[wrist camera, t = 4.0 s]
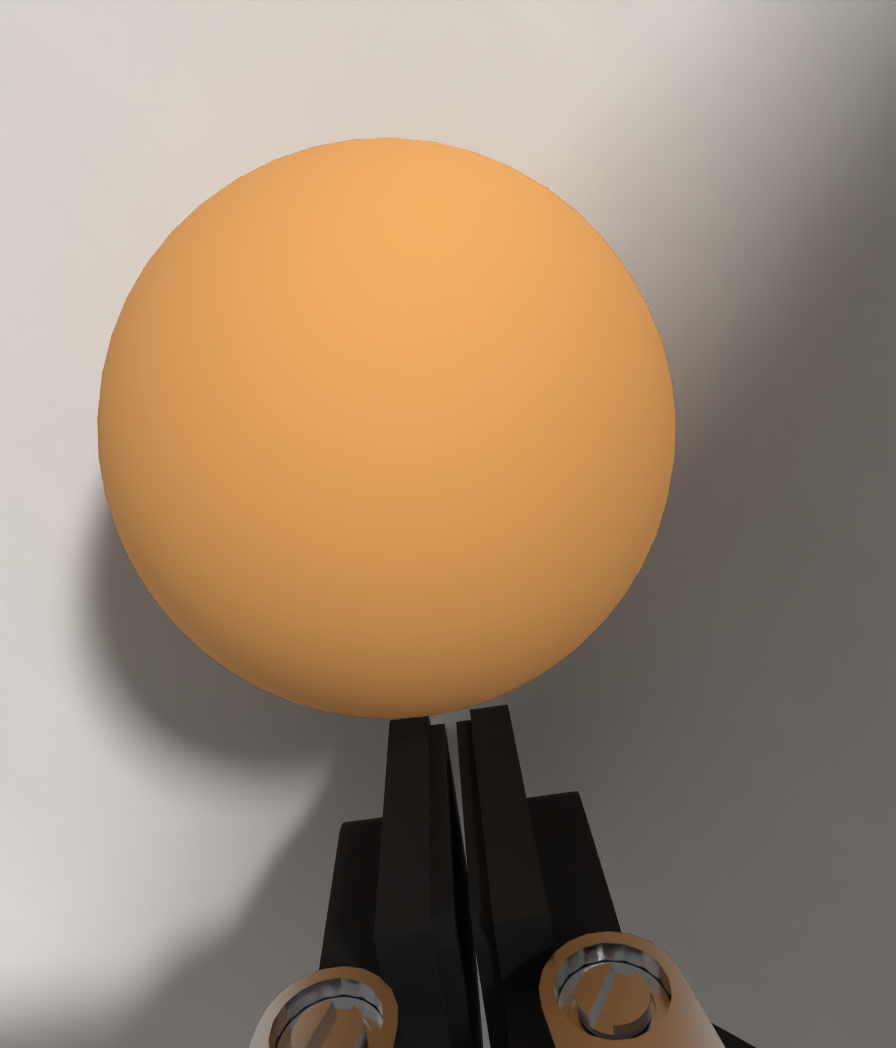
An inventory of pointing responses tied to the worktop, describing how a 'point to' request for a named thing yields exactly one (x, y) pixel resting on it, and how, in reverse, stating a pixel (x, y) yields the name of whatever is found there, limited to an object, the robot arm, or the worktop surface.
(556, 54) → the worktop surface
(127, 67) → the worktop surface
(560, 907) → the robot arm
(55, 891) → the worktop surface
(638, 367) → the ball
